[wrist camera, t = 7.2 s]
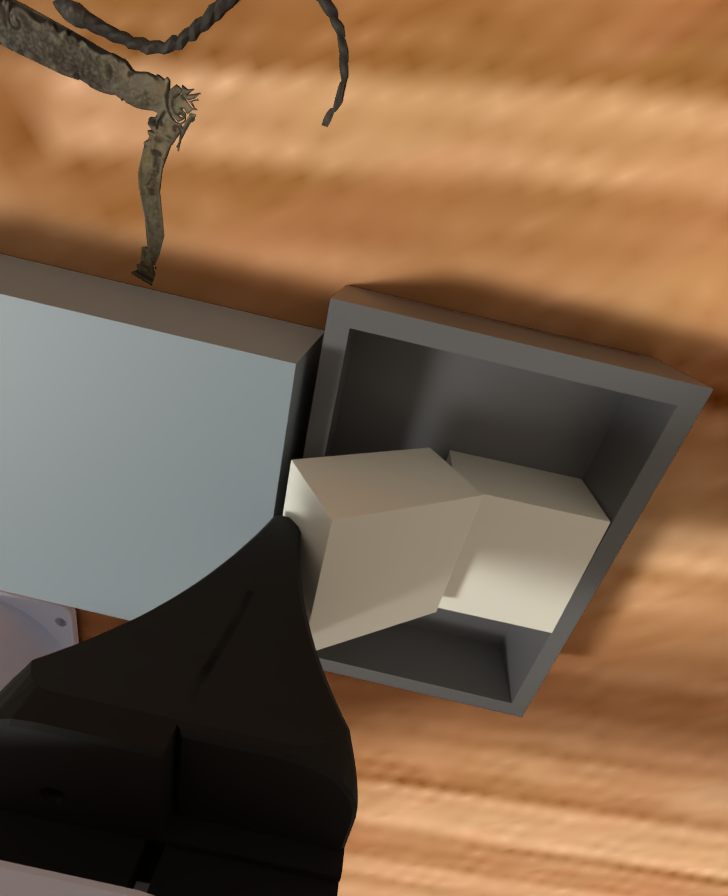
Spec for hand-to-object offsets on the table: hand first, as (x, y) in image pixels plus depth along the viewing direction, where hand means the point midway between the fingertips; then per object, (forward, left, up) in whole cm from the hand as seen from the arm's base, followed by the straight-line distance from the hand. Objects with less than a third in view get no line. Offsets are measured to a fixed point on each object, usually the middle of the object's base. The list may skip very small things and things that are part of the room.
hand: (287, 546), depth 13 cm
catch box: (0, -5, -5) cm, 6 cm away
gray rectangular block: (0, +8, -5) cm, 9 cm away
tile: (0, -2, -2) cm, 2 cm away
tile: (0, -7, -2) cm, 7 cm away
